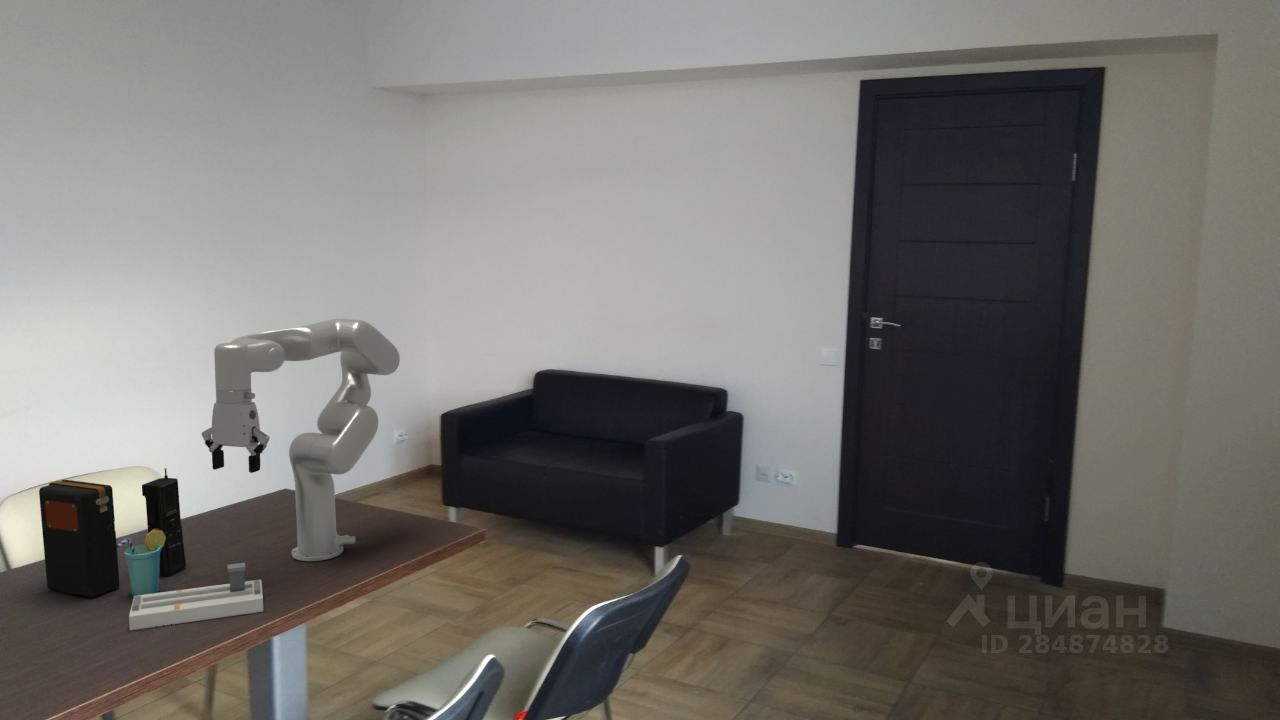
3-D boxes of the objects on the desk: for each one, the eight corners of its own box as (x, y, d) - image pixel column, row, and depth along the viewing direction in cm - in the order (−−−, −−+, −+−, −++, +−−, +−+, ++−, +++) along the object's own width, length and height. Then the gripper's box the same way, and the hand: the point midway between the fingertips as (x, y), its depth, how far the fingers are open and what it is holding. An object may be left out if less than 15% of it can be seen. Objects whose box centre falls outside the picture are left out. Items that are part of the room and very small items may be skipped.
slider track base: (261, 591, 219) (261, 575, 219) (263, 611, 209) (262, 594, 208) (135, 608, 209) (133, 591, 209) (129, 630, 198) (128, 612, 198)
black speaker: (125, 587, 222) (117, 483, 218) (93, 601, 214) (84, 493, 210) (74, 578, 227) (66, 476, 223) (41, 591, 219) (32, 486, 215)
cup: (137, 608, 210) (133, 543, 207) (106, 606, 211) (101, 541, 209) (178, 585, 223) (174, 523, 221) (148, 582, 224) (143, 521, 222)
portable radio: (166, 579, 227) (159, 477, 223) (144, 577, 228) (137, 475, 224) (188, 567, 235) (181, 469, 231) (166, 565, 236) (160, 467, 232)
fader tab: (246, 587, 214) (245, 562, 213) (246, 591, 211) (245, 566, 210) (229, 589, 212) (227, 564, 211) (229, 594, 210) (227, 568, 209)
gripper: (277, 396, 219) (279, 469, 221) (212, 392, 223) (215, 463, 225) (256, 401, 212) (258, 476, 214) (190, 397, 216) (193, 470, 218)
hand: (236, 469), depth 220 cm, fingers open, 9 cm apart
